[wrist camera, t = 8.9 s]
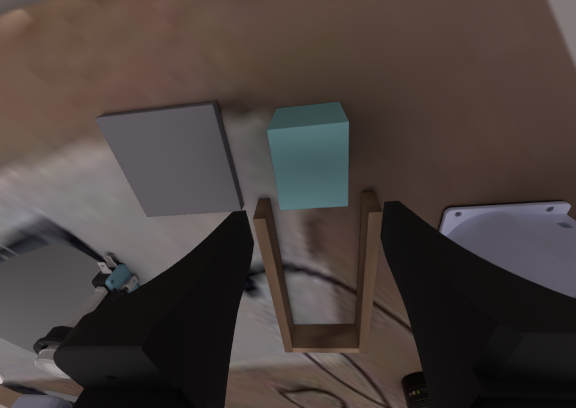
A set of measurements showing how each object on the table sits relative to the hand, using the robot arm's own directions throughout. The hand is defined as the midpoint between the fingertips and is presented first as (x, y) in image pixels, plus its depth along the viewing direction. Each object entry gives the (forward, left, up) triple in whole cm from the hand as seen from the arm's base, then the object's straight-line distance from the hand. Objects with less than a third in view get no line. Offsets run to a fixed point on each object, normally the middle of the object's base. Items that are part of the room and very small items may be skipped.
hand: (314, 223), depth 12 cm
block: (0, -1, -10) cm, 10 cm away
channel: (0, +15, -9) cm, 18 cm away
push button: (+23, +13, -10) cm, 28 cm away
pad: (+11, 0, -9) cm, 14 cm away
